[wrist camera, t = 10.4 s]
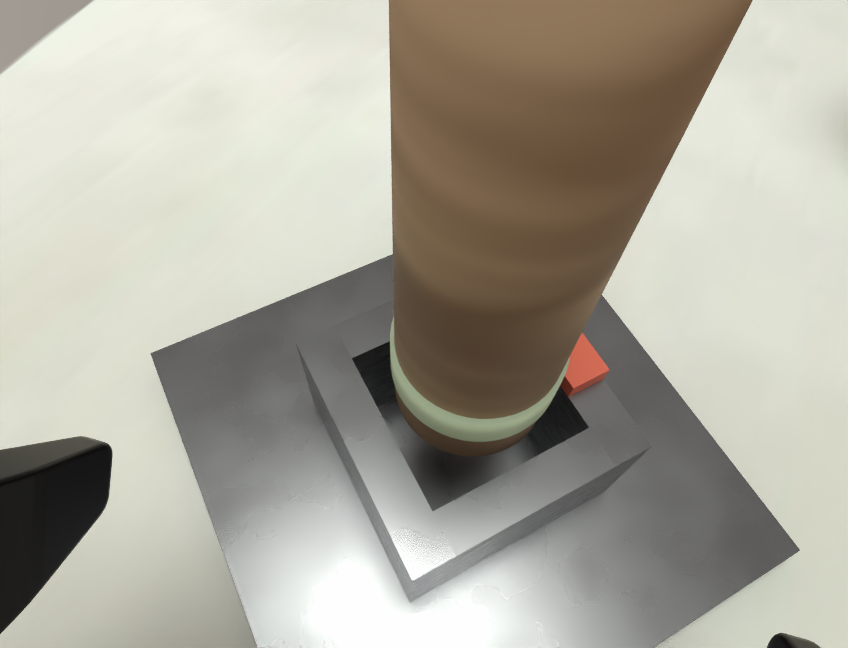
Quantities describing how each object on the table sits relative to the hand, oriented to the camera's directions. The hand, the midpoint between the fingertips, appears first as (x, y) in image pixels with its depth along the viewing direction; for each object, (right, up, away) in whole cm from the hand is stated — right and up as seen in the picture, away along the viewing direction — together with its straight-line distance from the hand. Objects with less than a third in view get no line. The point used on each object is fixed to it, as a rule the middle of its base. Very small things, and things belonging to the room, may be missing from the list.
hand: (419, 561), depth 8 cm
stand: (+1, -1, +14) cm, 14 cm away
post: (+1, +2, +9) cm, 9 cm away
